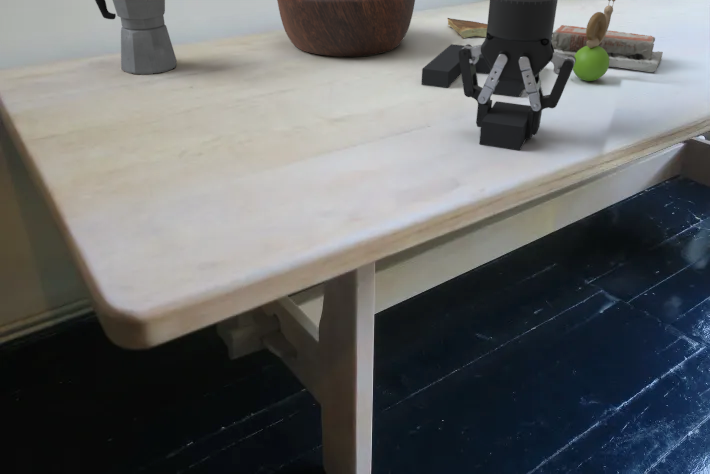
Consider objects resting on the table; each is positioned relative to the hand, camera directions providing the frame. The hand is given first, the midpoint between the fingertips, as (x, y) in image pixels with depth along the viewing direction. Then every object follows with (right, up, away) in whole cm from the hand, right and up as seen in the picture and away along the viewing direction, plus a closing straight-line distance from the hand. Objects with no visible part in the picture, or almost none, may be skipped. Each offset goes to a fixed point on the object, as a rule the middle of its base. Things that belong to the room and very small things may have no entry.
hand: (506, 132), depth 84 cm
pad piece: (0, 0, 0) cm, 0 cm away
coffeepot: (-54, +15, +27) cm, 62 cm away
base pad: (+1, +13, +22) cm, 26 cm away
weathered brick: (+24, +17, +31) cm, 43 cm away
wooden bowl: (-21, +23, +40) cm, 50 cm away
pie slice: (+2, +27, +47) cm, 54 cm away
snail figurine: (+18, +12, +21) cm, 30 cm away
